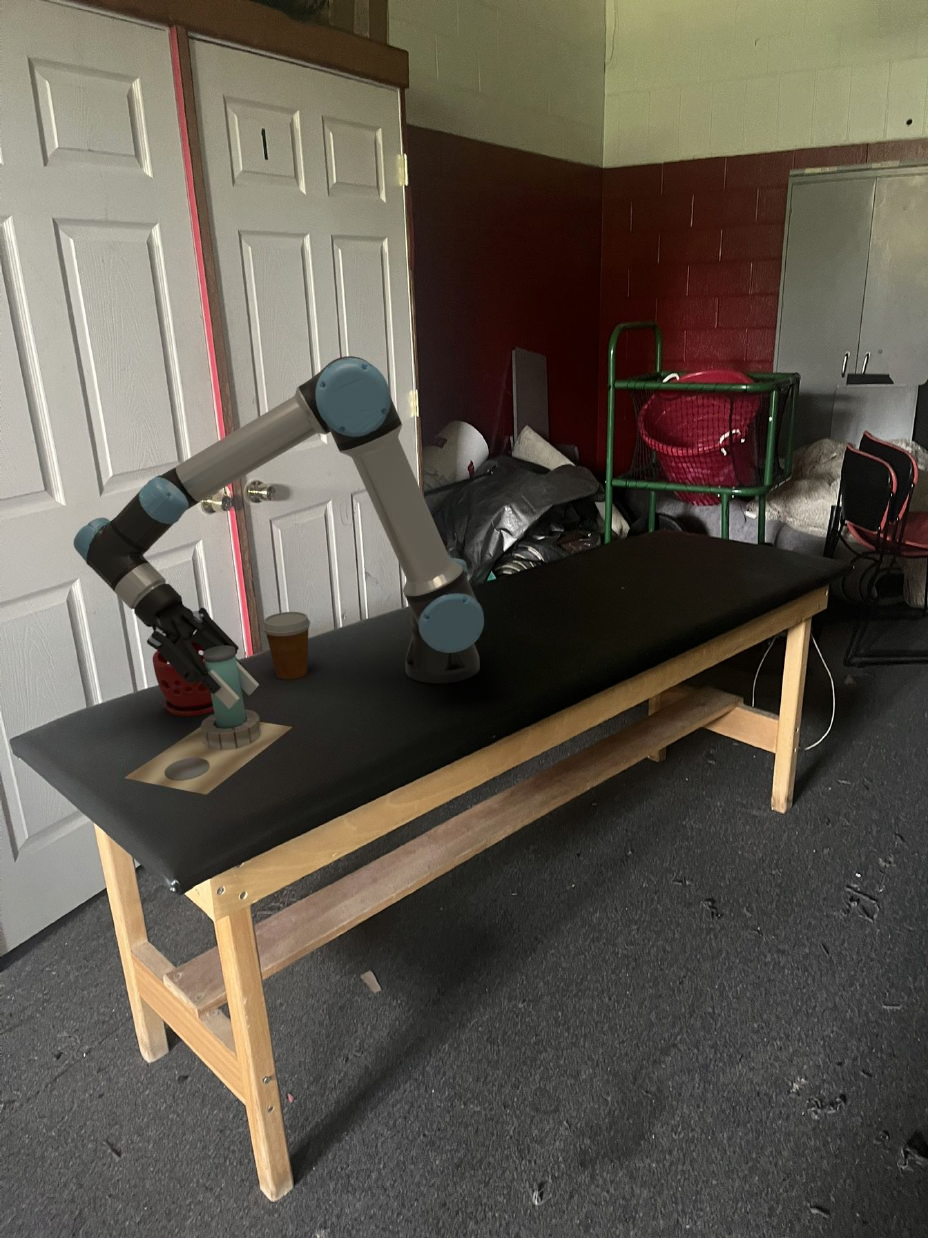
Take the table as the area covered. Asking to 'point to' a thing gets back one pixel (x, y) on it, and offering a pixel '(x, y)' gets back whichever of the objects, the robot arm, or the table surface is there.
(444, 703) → the table surface
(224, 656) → the teal cylindrical container
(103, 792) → the table surface
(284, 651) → the disposable coffee cup
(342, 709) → the table surface
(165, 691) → the plant pot
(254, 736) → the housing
